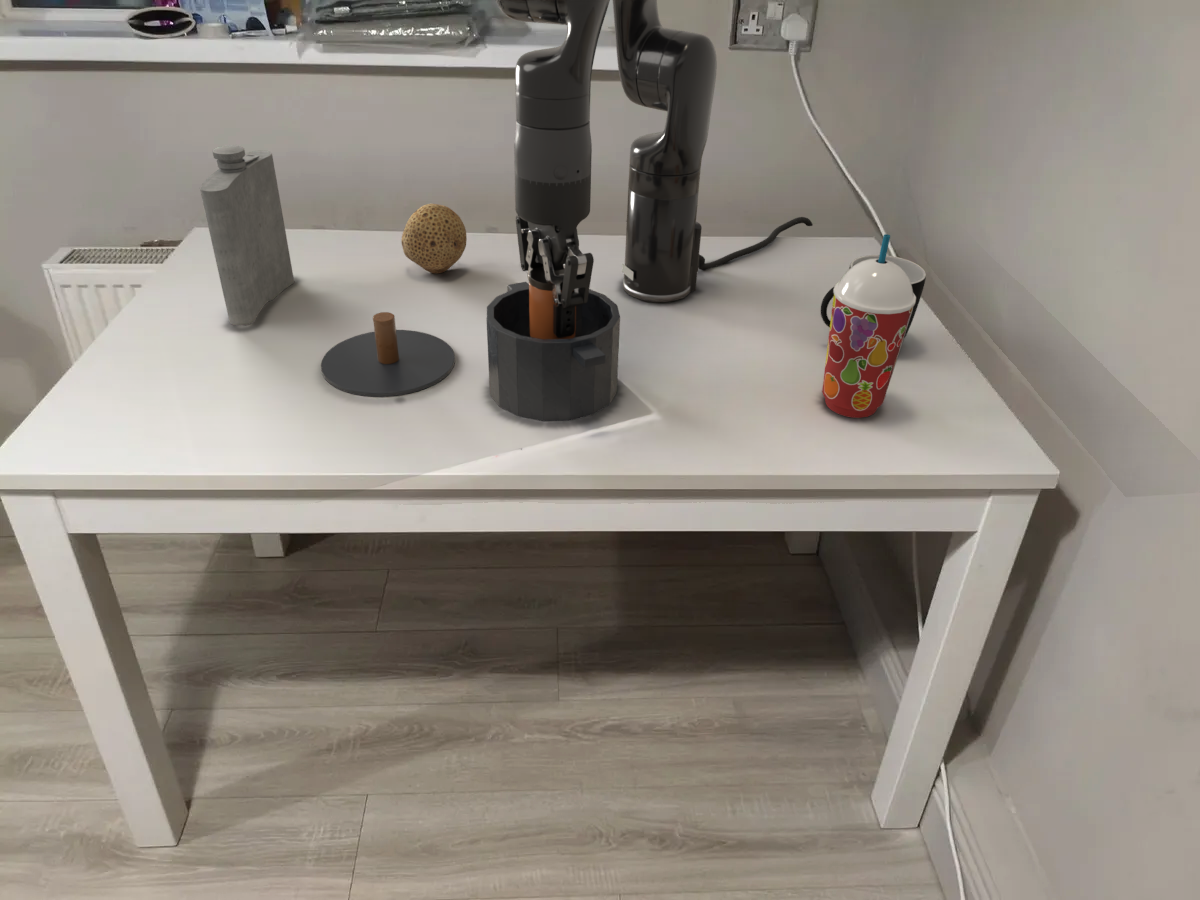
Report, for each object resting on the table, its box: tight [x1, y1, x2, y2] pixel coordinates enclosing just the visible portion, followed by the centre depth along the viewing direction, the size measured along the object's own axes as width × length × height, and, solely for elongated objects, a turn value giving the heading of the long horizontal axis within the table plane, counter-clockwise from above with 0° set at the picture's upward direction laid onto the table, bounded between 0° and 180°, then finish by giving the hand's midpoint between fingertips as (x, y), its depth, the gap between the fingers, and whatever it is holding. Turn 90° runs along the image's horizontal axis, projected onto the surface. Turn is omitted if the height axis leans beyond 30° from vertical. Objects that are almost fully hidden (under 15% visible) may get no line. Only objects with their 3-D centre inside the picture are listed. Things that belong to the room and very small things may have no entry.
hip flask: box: [199, 144, 295, 327], centre depth 115 cm, size 16×4×20 cm, turn 175°
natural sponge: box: [400, 203, 468, 274], centre depth 126 cm, size 9×9×10 cm
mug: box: [820, 254, 927, 341], centre depth 112 cm, size 12×9×10 cm
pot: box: [485, 281, 621, 422], centre depth 101 cm, size 14×20×10 cm
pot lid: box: [320, 311, 456, 398], centre depth 105 cm, size 15×15×7 cm
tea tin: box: [528, 267, 576, 339], centre depth 98 cm, size 5×5×7 cm
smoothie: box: [821, 233, 916, 419], centre depth 97 cm, size 8×8×20 cm
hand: (552, 323), depth 99 cm, fingers closed on tea tin, 5 cm apart
